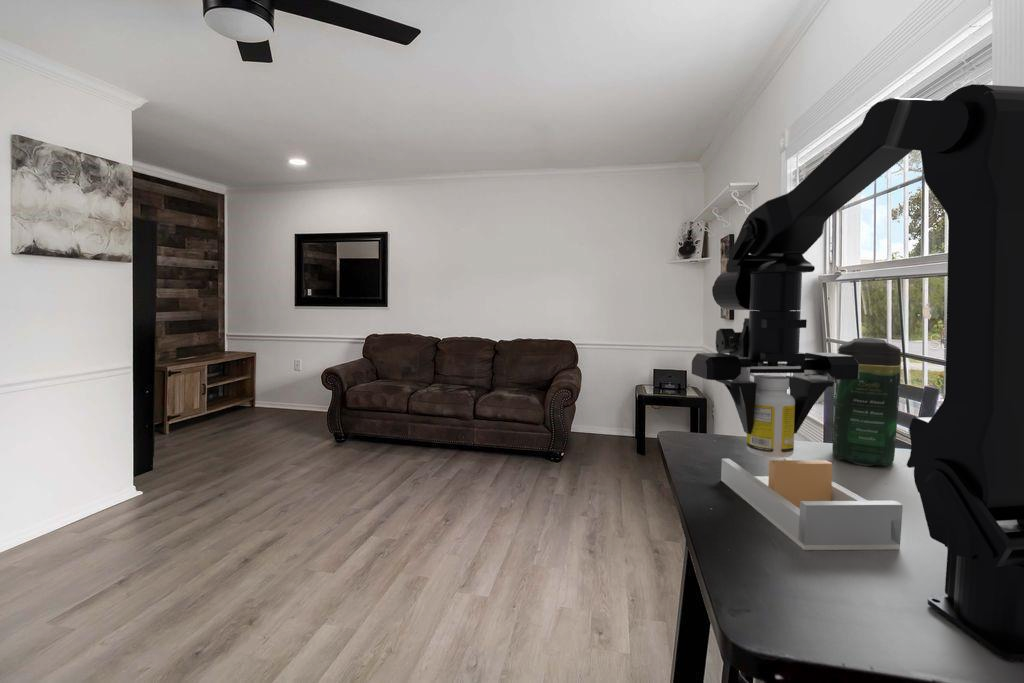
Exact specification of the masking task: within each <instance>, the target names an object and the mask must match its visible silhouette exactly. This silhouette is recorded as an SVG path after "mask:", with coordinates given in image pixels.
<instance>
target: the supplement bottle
mask: <svg viewBox="0 0 1024 683" xmlns="http://www.w3.org/2000/svg"><path fill="white" fill-rule="evenodd" d="M753 382H755V383H757V386H756V398H755V410H754V422H753V428H752V432H751V434H747V433H746V449H747V451H748V452H749V453H751V454H754V455H757V456H761V457H766V458H788V457H789V458H790V457H791V456H793V455H794V451H795V450H794V448H795V434H794V418H795V399H794V398H793V397H792V396H791V395H790V393H788V390H790V388H789V377H786V375H785V376H784V375H778V374H774V375H773V374H755V375H754V377H753Z"/></svg>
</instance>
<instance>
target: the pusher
mask: <svg viewBox="0 0 1024 683" xmlns="http://www.w3.org/2000/svg"><path fill="white" fill-rule="evenodd" d="M768 476H769V481H768V487H770V488H771V489H773V490H774V491H775V492H777V493H778V494H780V495H781V496H782V497H784V498H785V499H787V500H788V501H789V502H791V503H792V504H794V505H795V506H800V501H831V489H832V481H833V463H832V462H831V461H829V460H827V459H813V460H812V459H810V460H808V459H806V460H804V459H801V460H800V459H798V460H797V459H796V460H795V459H793V460H784V459H783V460H782V459H781V460H777V459H776V460H773V459H772V460H769V461H768Z"/></svg>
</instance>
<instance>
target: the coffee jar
mask: <svg viewBox="0 0 1024 683" xmlns="http://www.w3.org/2000/svg"><path fill="white" fill-rule="evenodd" d="M837 349H838V350H837V351H838V353H837V354H843V355H849V356H854V357H855V359H856V360H857V362H858V363H859V365H860V373H859V379H843V380H837V379H835V380H836V382H835V383H836V384H835V400H834V416H833V417H834V419H833V430H832V433H833V434H832V453H833V455H834V457H835V458H837V459H840V460H844V461H847V462H852V463H853V464H854V465H855V464H856V465H859V466H865V467H866V466H867V467H872V466H883V467H888V466H891V465H892V464H893V462H894V460H895V456H896V454H895V453H896V443H897V426H898V417H899V407H900V391H901V370H902V349H901V348H900V347H898V346H896V345H894V344H892V343H889V342H887V341H886V340H885V339H882V338H876V337H861V338H860V337H858V338H854V339H852V340H850V341H847V342H844V343H841V344H840V345H839V347H838V348H837Z"/></svg>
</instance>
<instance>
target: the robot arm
mask: <svg viewBox="0 0 1024 683" xmlns="http://www.w3.org/2000/svg"><path fill="white" fill-rule="evenodd" d="M913 151H919V152H920V158H921V165H922V171H923V172H922V173H923V176H924V178H923V179H924V182H925V184H926V186H927V187H928V188H929V190H930V191H931V193H932V194H933V196H934V197H935V198H936V200H937V201H938V202H939V204H940V206H941V207H942V209H943V210H944V212H945V213H946V215H947V221H948V223H947V224H948V226H947V229H948V231H947V233H948V234H947V270H946V271H947V273H946V274H947V275H946V276H947V280H946V281H947V282H946V286H947V287H946V326H945V327H946V328H945V329H946V330H945V331H946V332H945V334H946V335H945V340H946V341H945V377H944V378H945V382H944V384H945V385H944V391H945V393H944V398H943V401H942V403H940V406H939V407H938V409H937V410H936V411H935V412H934V414H933V415H932V416H926V417H924V416H922V417H920V416H919V417H913V418H912V419H911V421H910V424H909V428H908V429H909V437H910V455H909V458H908V460H907V463H906V467H907V468H909V469H912V468H913V478H914V484H915V488H916V490H917V492H918V494H919V498H920V501H921V505H922V509H923V512H924V517H925V520H926V524H927V529H928V532H929V536H930V538H931V539H933V540H934V541H936V542H938V543H940V544H943V545H944V547H945V548H946V549H947V555H946V567H945V568H946V569H945V570H946V571H945V581H944V582H945V583H944V593H945V595H947V596H929V597H927V605H928V606H929V607H931V609H932V608H933V610H935V611H936V612H937V613H939V614H940V615H942V616H943V617H944V618H946V619H948V620H949V621H950V622H951V623H953V624H954V625H956V626H957V627H959V628H960V629H962V630H963V631H964V632H965V633H967V634H968V635H970V636H971V637H972V638H974V639H975V640H976V641H978V642H980V643H981V644H982V645H984V646H985V647H986V648H988V649H989V650H990V651H991V652H993V653H994V654H995V655H997V656H999V657H1001V658H1003V659H1005V660H1009V659H1014V660H1013V661H1016V660H1015V659H1024V86H1015V85H1013V86H1012V85H998V84H997V85H995V84H973V83H971V84H968V85H965V86H963V87H959V88H958V89H956V90H954V91H953V92H951V93H949V94H948V95H947V96H946V97H945V98H943V100H942V99H939V100H938V99H929V98H928V99H926V98H925V99H924V98H904V97H902V98H901V97H889V98H885V99H884V100H880V101H877V102H876V103H875V104H873V105H872V106H871V107H870V109H869V110H868V111H867V112H866V113H865V116H864V118H863V121H862V123H861V124H860V125H858V126H857V127H856V128H855V129H854V130H853V132H851V134H849V135H848V136H847V137H846V138H845V139H844V140H843V141H842V142H841V143H840V144H839V145H838V146H837V147H835V148H834V150H833V151H832V152H830V154H829V155H827V156H826V157H825V158H824V159H823V160H822V161H821V162H820V163H819V164H817V166H816V167H815V168H813V170H812V171H811V172H810V173H808V174H807V176H806V177H804V179H802V180H801V181H800V182H799V184H797V185H796V186H795V187H794V188H793V189H792V190H790V191H788V192H787V193H785V194H782V195H779V196H777V197H774V198H771V199H769V200H767V201H765V202H763V203H761V205H759V206H758V207H756V208H755V209H754V210H752V211H751V212H750V213H749V214H748V216H747V217H746V219H745V221H744V222H743V223H742V226H741V229H740V230H739V233H738V236H737V237H736V239H735V241H734V243H733V245H732V247H731V248H730V251H729V252H728V254H729V258H728V260H727V262H726V264H725V271H724V272H722V273H720V274H719V275H718V276H717V278H716V279H715V281H714V284H713V285H712V289H711V290H712V297H713V300H714V302H715V303H716V304H717V305H718V306H719V307H720V308H722V309H724V310H728V311H729V310H730V311H731V310H732V311H735V310H736V311H748V312H749V313H748V314H749V316H748V317H746V318H745V317H744V318H743V319H744V321H743V322H742V323H743V324H742V325H743V327H742V331H740V332H739V331H735V330H734V328H719V329H717V330H716V332H715V333H716V334H715V350H716V352H714V353H712V352H706V353H705V352H699V353H696V354H695V355H694V357H693V358H692V359H691V374H692V375H693V376H696V377H699V378H702V379H705V380H709V381H716V382H719V383H721V384H724V386H725V387H726V389H727V390H728V392H729V394H730V396H731V398H732V400H733V403H734V405H735V409H736V411H737V415H738V417H739V419H740V423H741V425H742V429H743V432H744V433H745V434H746V435H747V434H751V432H752V428H753V422H754V410H755V398H756V386H757V383H755V382H754V381H752V380H751V374H792V375H785V377H789V394H790V395H791V396H792V397H793V398H794V399H795V418H794V435H795V434H797V433H798V432H799V430H800V428H801V427H802V425H803V423H804V421H805V420H806V418H807V416H808V415H809V413H810V412H811V410H812V408H813V407H814V406H815V404H816V403H817V401H818V400H819V399H820V398H821V396H822V395H823V394H824V392H825V391H826V390H827V388H829V387H830V388H831V387H834V386H835V381H832V380H828V374H829V375H830V377H831V378H833V379H834V380H836V379H837V380H843V379H859V373H860V365H859V363H858V362H857V360H856V359H855V357H854V356H849V355H843V354H838V353H835V352H805V353H804V352H800V339H801V338H800V336H801V335H800V334H801V329H807V322H808V321H807V319H803V318H802V319H801V314H802V313H801V309H802V288H803V287H802V286H803V283H802V281H803V274H804V273H813V272H815V269H816V268H815V265H814V264H813V263H811V261H809V260H807V259H806V258H805V257H804V254H805V253H807V252H808V251H809V249H810V248H811V247H812V246H813V245H814V244H815V243H816V242H817V241H818V240H819V239H820V238H821V237H822V236H823V234H824V227H825V223H826V222H827V220H828V219H829V218H830V217H831V216H833V215H834V214H836V212H837V211H839V210H840V209H841V208H843V207H844V206H845V205H846V204H848V203H849V202H850V201H851V200H852V199H853V198H855V197H857V195H859V194H860V193H861V192H862V191H864V190H865V189H866V188H868V187H869V186H870V185H872V183H873V182H875V181H876V180H877V179H879V178H880V177H881V176H883V174H886V172H887V171H889V170H890V169H891V168H892V167H894V166H895V165H896V164H898V163H899V162H900V161H901V160H903V159H904V158H905V157H906V156H908V154H910V153H911V152H913ZM1005 521H1006V522H1007V521H1016V524H1002V525H1001V524H999V523H998V522H1005Z"/></svg>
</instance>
